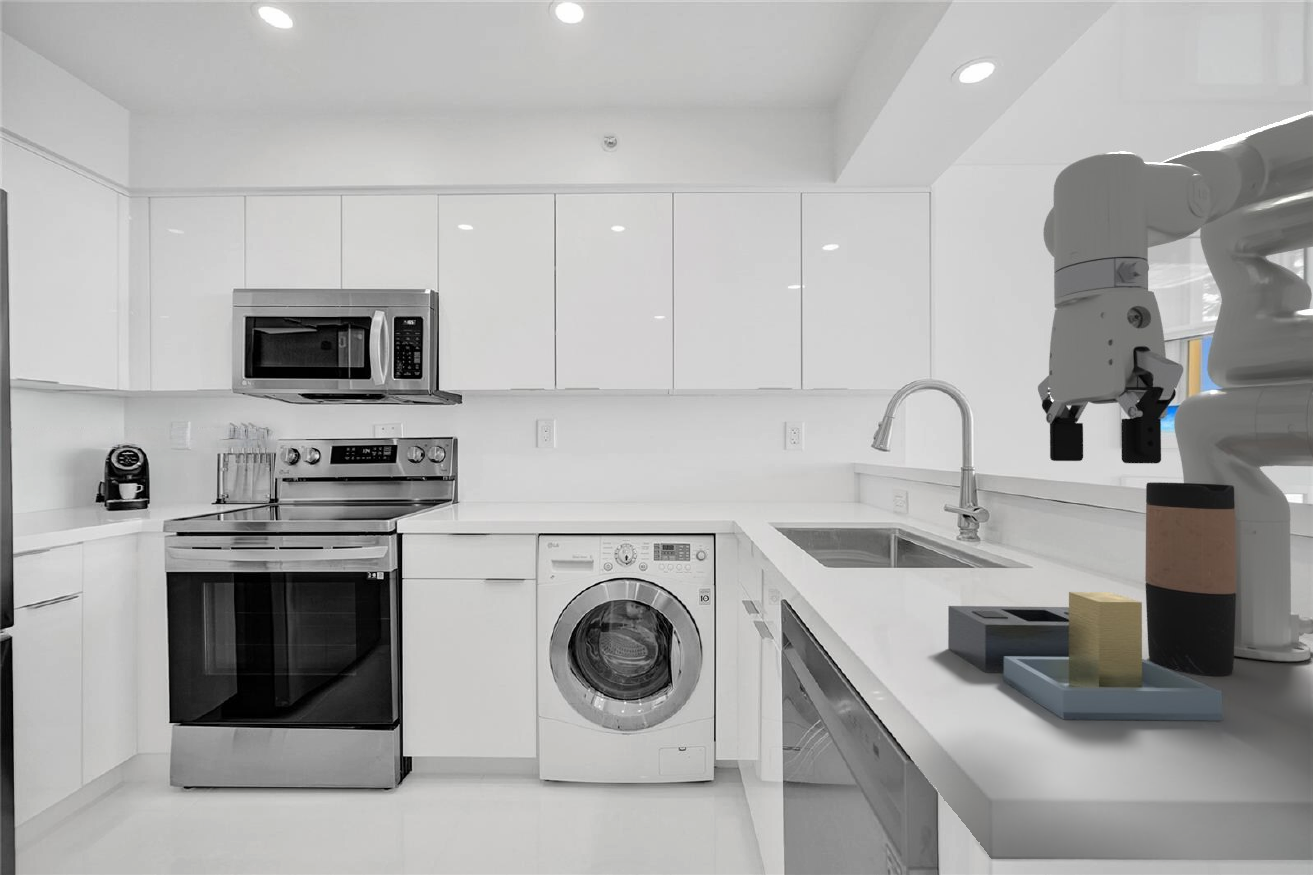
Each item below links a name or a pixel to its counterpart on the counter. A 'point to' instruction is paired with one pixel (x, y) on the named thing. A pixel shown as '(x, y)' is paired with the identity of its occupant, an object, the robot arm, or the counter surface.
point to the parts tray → (1113, 693)
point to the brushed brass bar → (1104, 640)
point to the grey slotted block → (1007, 633)
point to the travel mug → (1191, 576)
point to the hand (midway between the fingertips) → (1101, 461)
